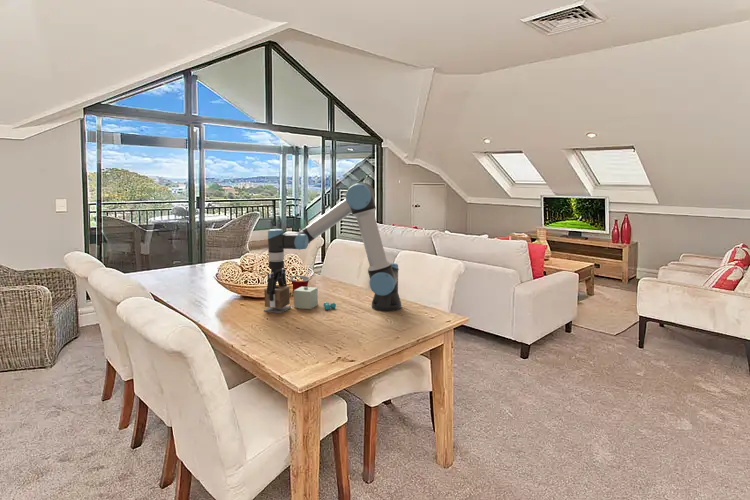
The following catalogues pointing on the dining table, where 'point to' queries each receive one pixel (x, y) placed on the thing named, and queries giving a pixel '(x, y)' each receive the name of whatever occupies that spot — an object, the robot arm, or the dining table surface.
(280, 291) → the walnut cover
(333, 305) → the marbles
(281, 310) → the grey square plate
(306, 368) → the dining table surface
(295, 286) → the plastic cup
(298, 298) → the sage cover
